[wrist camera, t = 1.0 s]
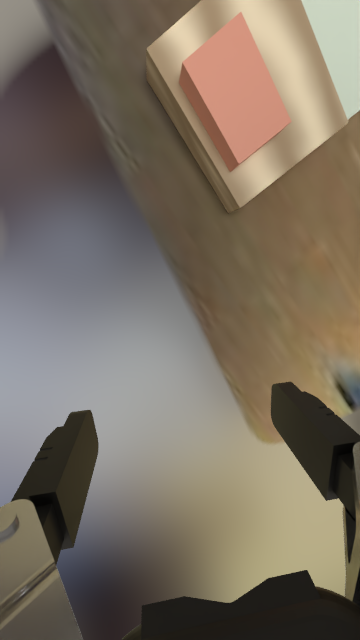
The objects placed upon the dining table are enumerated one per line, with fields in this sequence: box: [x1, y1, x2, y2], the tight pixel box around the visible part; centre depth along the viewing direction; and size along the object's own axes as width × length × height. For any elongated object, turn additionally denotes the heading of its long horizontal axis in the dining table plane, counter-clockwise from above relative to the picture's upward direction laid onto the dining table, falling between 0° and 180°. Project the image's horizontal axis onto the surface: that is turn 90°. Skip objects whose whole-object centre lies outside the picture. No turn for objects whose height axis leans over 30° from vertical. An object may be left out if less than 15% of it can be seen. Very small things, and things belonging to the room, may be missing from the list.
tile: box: [179, 12, 292, 172], centre depth 22 cm, size 6×9×2 cm, turn 36°
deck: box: [146, 0, 349, 214], centre depth 25 cm, size 14×16×4 cm
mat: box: [301, 0, 360, 119], centre depth 26 cm, size 14×16×1 cm
